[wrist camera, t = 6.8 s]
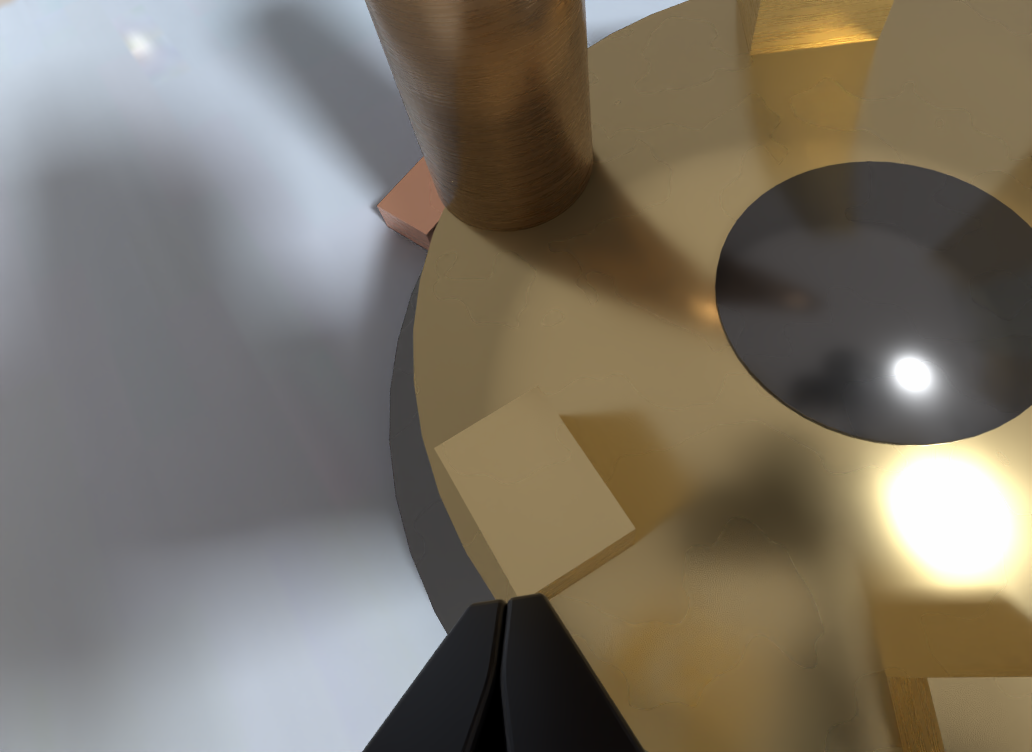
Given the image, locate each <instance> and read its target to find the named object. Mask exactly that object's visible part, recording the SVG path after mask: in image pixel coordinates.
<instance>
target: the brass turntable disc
mask: <svg viewBox="0 0 1032 752" xmlns="http://www.w3.org/2000/svg"><path fill="white" fill-rule="evenodd" d="M365 2H366V5H367V8H368V10H369V13H370V16H371V18H372V21H373V23H374V26H375V29H376V31H377V34H378V37H379V39H380V42H381V45H382V47H383V50H384V53H385V55H386V58H387V61H388V63H389V66H390V68H391V71H392V74H393V76H394V79H395V82H396V84H397V87H398V90H399V92H400V95H401V98H402V100H403V103H404V106H405V108H406V111H407V113H408V116H409V119H410V121H411V124H412V127H413V129H414V132H415V135H416V137H417V140H418V143H419V145H420V148H421V151H422V153H423V156H424V159H425V161H426V164H427V166H428V169H429V172H430V174H431V177H432V180H433V182H434V185H435V188H436V190H437V193H438V196H439V198H440V200H441V201H442V203H443V205H444V206H445V208H444V210H443V212H442V215H441V217H440V219H439V221H438V224H437V226H436V228H435V231H434V233H433V236H432V239H431V243H430V246H429V250H428V253H427V257H426V260H425V264H424V267H423V271H422V274H421V278H420V283H419V291H418V298H417V305H416V313H415V320H414V327H413V358H414V387H415V394H416V400H417V407H418V413H419V420H420V426H421V433H422V438H423V442H424V445H425V448H426V452H427V455H428V458H429V462H430V465H431V468H432V472H433V475H434V478H435V481H436V485H437V488H438V491H439V495H440V497H441V499H442V501H443V503H444V506H445V508H446V510H447V512H448V514H449V516H450V519H451V521H452V523H453V525H454V527H455V530H456V532H457V534H458V536H459V538H460V540H461V543H462V545H463V547H464V549H465V551H466V553H467V555H468V557H469V558H470V560H471V561H472V563H473V564H474V566H475V568H476V569H477V571H478V572H479V574H480V576H481V577H482V579H483V580H484V582H485V583H486V585H487V587H488V588H489V590H490V591H491V593H492V595H493V596H494V598H495V599H496V600H497V599H503V600H505V601H506V602H507V603H508V601H509V600H510V599H511V598H512V597H516V596H523V595H529V594H536V593H542V594H544V595H545V596H546V597H547V598H548V600H549V601H550V603H551V605H552V606H553V608H554V609H555V611H556V612H557V614H558V616H559V617H560V619H561V620H562V622H563V623H564V625H565V626H566V628H567V630H568V631H569V633H570V634H571V636H572V637H573V639H574V640H575V642H576V644H577V645H578V647H579V648H580V650H581V651H582V653H583V655H584V656H585V658H586V659H587V661H588V662H589V664H590V665H591V667H592V669H593V670H594V672H595V673H596V675H597V676H598V678H599V679H600V681H601V683H602V684H603V686H604V687H605V689H606V690H607V692H608V694H609V695H610V697H611V698H612V700H613V701H614V703H615V704H616V706H617V708H618V709H619V711H620V712H621V714H622V715H623V717H624V719H625V720H626V722H627V723H628V725H629V726H630V728H631V729H632V731H633V733H634V734H635V736H636V737H637V739H638V740H639V742H640V743H641V745H642V747H643V748H644V749H645V750H646V751H648V752H1032V0H689V1H686V2H683V3H681V4H678V5H675V6H673V7H670V8H667V9H665V10H662V11H659V12H656V13H654V14H651V15H649V16H647V17H645V18H643V19H641V20H639V21H637V22H635V23H633V24H631V25H629V26H627V27H625V28H622V29H620V30H618V31H616V32H614V33H612V34H610V35H608V36H607V37H605V38H604V39H602V40H600V41H599V42H597V43H596V44H594V45H592V46H591V47H589V48H587V30H586V10H585V0H365Z"/></svg>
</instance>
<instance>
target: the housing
mask: <svg viewBox="0 0 1032 752" xmlns="http://www.w3.org/2000/svg"><path fill="white" fill-rule="evenodd" d="M377 207H378V209H379V211H380V213H381V215H382V216H383V218H384V220H385V222H386V224H387V226H388V227H390V228H391V229H393V230H395V231H396V232H398V233H400V234H401V235H403V236H405V237H406V238H408V239H410V240H411V241H413V242H415V243H417V244H418V245H420V246H422V247H423V248H425V249H427V250H429V246H430V243H431V239H432V236H433V233H434V231H435V228H436V226H437V224H438V221H439V219H440V217H441V215H442V212H443V210H444V208H445V206H444V205H443V203H442V201H441V200H440V198H439V196H438V193H437V190H436V188H435V185H434V182H433V180H432V177H431V174H430V172H429V169H428V166H427V164H426V161H425V159H424V156H423V157H422V158H421V160H420V161H419V162H418V163H417V164H416V165H415V166H414V167H413V168H412V169H411V170H410V171H409V172H408V173H407V174H406V175H405V176H404V178H403V179H402V180H401V181H400V182H399V183H398V184H397V185H396V186H395V187H394V188H393V189H392V190H391V191H390V192H389V193H388V194H387V195H386V197H385V198H384V199H383V200H382V201H381V202H380V203H379V204H378V205H377ZM422 271H423V270H422ZM421 274H422V272H421ZM420 278H421V275H420V277H419V279H418V281H417V284H416V286H415V288H414V290H413V293H412V295H411V298H410V301H409V305H408V308H407V312H406V315H405V318H404V322H403V325H402V328H401V332H400V335H399V339H398V343H397V350H396V356H395V363H394V369H393V376H392V382H391V389H390V439H389V442H390V450H391V459H392V467H393V476H394V484H395V492H396V498H397V502H398V506H399V510H400V514H401V518H402V522H403V525H404V529H405V533H406V537H407V541H408V545H409V549H410V552H411V555H412V558H413V560H414V562H415V565H416V567H417V570H418V572H419V575H420V577H421V580H422V582H423V585H424V587H425V590H426V592H427V594H428V597H429V599H430V602H431V604H432V607H433V609H434V612H435V613H436V615H437V617H438V619H439V620H440V622H441V624H442V626H443V627H444V629H445V631H446V633H447V634H448V633H449V632H450V631H451V629H452V628H453V626H454V625H455V624H456V622H457V621H458V620H459V618H460V617H461V615H462V614H463V613H464V611H465V610H466V609H467V607H468V606H470V605H471V604H473V603H478V602H484V601H491V600H496V599H495V598H494V596H493V595H492V593H491V591H490V590H489V588H488V587H487V585H486V583H485V582H484V580H483V579H482V577H481V576H480V574H479V572H478V571H477V569H476V568H475V566H474V564H473V563H472V561H471V560H470V558H469V557H468V555H467V553H466V551H465V549H464V547H463V545H462V543H461V540H460V538H459V536H458V534H457V532H456V530H455V527H454V525H453V523H452V521H451V519H450V516H449V514H448V512H447V510H446V508H445V506H444V503H443V501H442V499H441V497H440V495H439V491H438V488H437V485H436V481H435V478H434V475H433V472H432V468H431V465H430V462H429V458H428V455H427V452H426V448H425V445H424V442H423V438H422V433H421V426H420V420H419V413H418V407H417V400H416V394H415V387H414V358H413V327H414V320H415V313H416V305H417V298H418V291H419V283H420ZM644 750H645V749H644ZM645 751H646V750H645ZM646 752H648V751H646Z"/></svg>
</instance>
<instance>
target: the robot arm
mask: <svg viewBox="0 0 1032 752" xmlns="http://www.w3.org/2000/svg"><path fill="white" fill-rule="evenodd" d="M362 752H646V751H645V750H644V748H643V747H642V745H641V743H640V742H639V740H638V739H637V737H636V736H635V734H634V733H633V731H632V729H631V728H630V726H629V725H628V723H627V722H626V720H625V719H624V717H623V715H622V714H621V712H620V711H619V709H618V708H617V706H616V704H615V703H614V701H613V700H612V698H611V697H610V695H609V694H608V692H607V690H606V689H605V687H604V686H603V684H602V683H601V681H600V679H599V678H598V676H597V675H596V673H595V672H594V670H593V669H592V667H591V665H590V664H589V662H588V661H587V659H586V658H585V656H584V655H583V653H582V651H581V650H580V648H579V647H578V645H577V644H576V642H575V640H574V639H573V637H572V636H571V634H570V633H569V631H568V630H567V628H566V626H565V625H564V623H563V622H562V620H561V619H560V617H559V616H558V614H557V612H556V611H555V609H554V608H553V606H552V605H551V603H550V601H549V600H548V598H547V597H546V596H545V595H544V594H542V593H536V594H529V595H523V596H516V597H512V598H511V599H510V600H509V601H508V603H507V602H506V601H505V600H503V599H497V600H491V601H484V602H478V603H473V604H471V605H470V606H468V607H467V609H466V610H465V611H464V613H463V614H462V615H461V617H460V618H459V620H458V621H457V622H456V624H455V625H454V626H453V628H452V629H451V631H450V632H449V633H448V635H447V636H446V637H445V639H444V640H443V642H442V643H441V644H440V646H439V647H438V648H437V650H436V651H435V652H434V654H433V655H432V657H431V658H430V659H429V661H428V662H427V663H426V665H425V666H424V668H423V669H422V670H421V672H420V673H419V674H418V676H417V677H416V679H415V680H414V681H413V683H412V684H411V685H410V687H409V688H408V690H407V691H406V692H405V694H404V695H403V696H402V698H401V699H400V701H399V702H398V703H397V705H396V706H395V707H394V709H393V710H392V712H391V713H390V714H389V716H388V717H387V718H386V720H385V721H384V722H383V724H382V725H381V727H380V728H379V729H378V731H377V732H376V733H375V735H374V736H373V738H372V739H371V740H370V742H369V743H368V744H367V746H366V747H365V749H364V750H363V751H362Z"/></svg>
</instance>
